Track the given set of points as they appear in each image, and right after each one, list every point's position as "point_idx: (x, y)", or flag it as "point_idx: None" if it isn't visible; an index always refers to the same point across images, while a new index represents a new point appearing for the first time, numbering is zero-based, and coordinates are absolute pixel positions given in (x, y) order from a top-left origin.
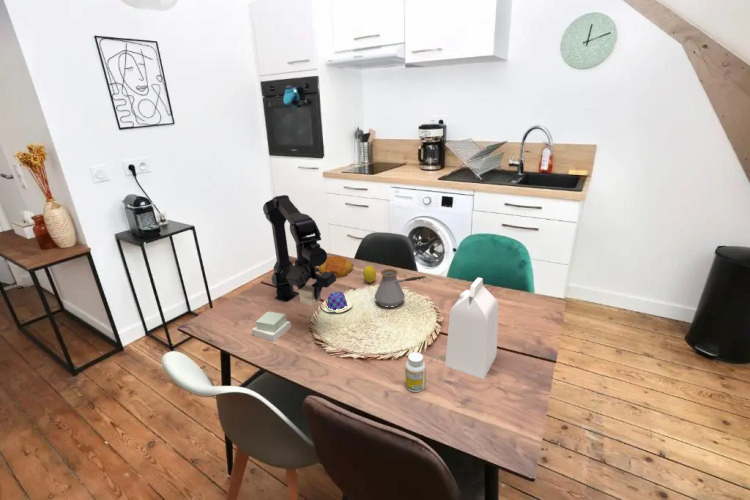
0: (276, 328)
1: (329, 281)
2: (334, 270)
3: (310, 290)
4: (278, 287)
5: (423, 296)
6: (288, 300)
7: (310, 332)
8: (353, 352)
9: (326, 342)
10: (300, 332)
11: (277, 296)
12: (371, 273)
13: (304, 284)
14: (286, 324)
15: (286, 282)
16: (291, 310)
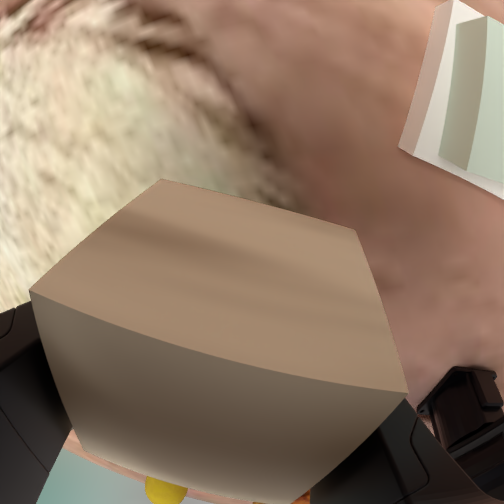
0: (464, 42)
1: None
2: (293, 502)
3: (103, 374)
4: (498, 415)
5: None
6: (449, 372)
7: (254, 111)
8: (10, 41)
9: (124, 47)
10: (320, 102)
11: (492, 379)
12: (150, 484)
13: (322, 498)
14: (426, 121)
15: (468, 446)
16: (432, 313)
